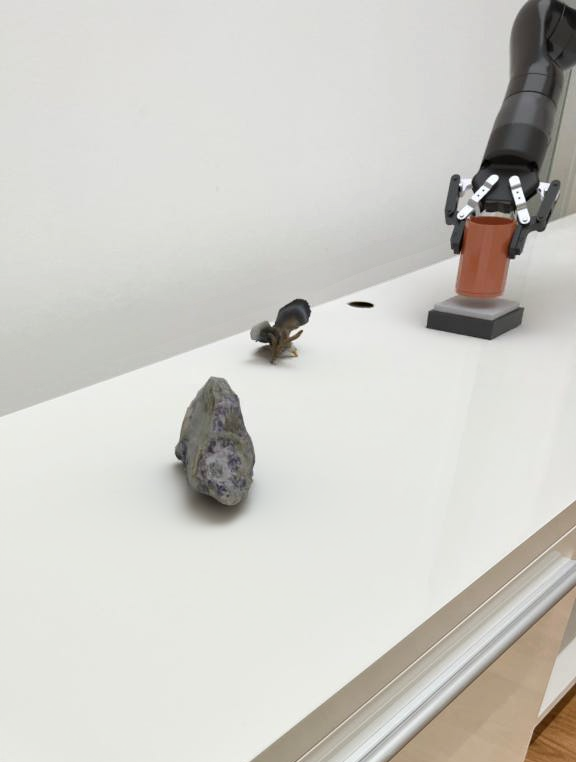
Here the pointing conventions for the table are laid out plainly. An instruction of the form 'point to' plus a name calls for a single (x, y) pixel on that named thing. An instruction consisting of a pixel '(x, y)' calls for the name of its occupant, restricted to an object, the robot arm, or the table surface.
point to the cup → (485, 256)
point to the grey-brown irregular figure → (283, 328)
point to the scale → (476, 316)
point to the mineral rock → (216, 444)
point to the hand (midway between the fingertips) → (483, 252)
